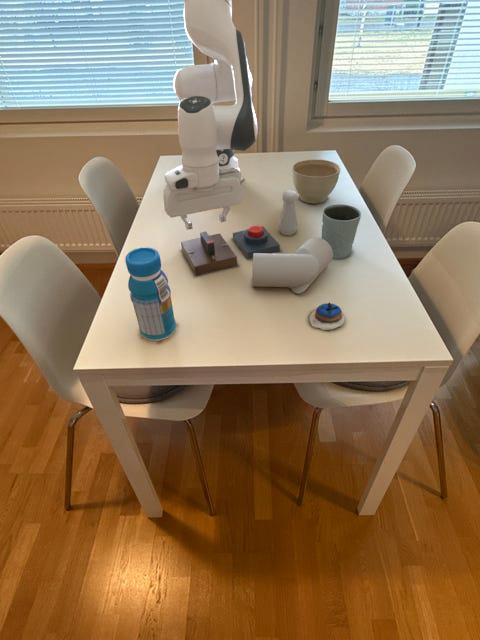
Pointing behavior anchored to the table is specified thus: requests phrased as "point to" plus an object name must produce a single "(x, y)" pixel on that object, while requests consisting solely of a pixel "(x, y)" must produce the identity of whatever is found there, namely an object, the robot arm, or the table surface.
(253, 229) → the red button
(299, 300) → the table surface
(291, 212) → the salt shaker
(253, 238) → the button box
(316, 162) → the planter bowl
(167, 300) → the beverage bottle
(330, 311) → the dessert
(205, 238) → the lever
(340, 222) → the light blue cup
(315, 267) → the bent grey cylinder
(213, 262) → the dial base
